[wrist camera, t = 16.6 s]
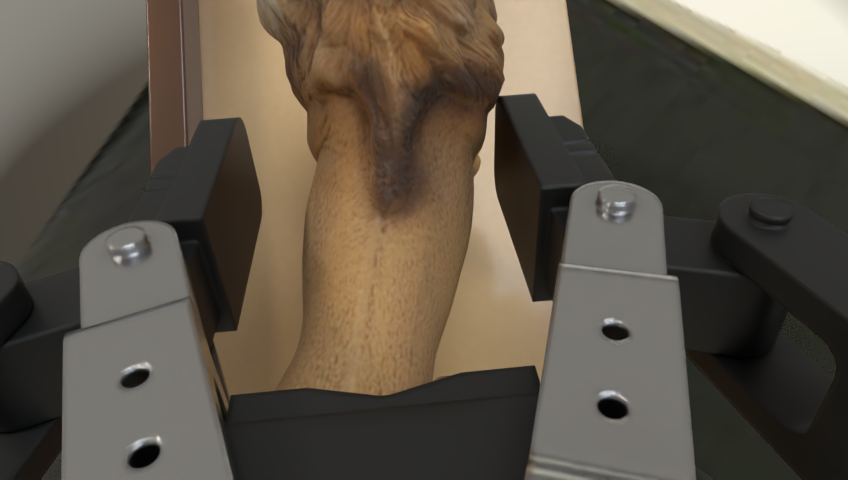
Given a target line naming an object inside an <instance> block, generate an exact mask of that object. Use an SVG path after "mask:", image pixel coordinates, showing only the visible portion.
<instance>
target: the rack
mask: <svg viewBox="0 0 848 480" xmlns="http://www.w3.org/2000/svg"><path fill="white" fill-rule="evenodd" d="M494 3H495V7H496V12H497V22H496V23H497V24H498V26H499V27H500V28H501V29H502V31H503V33H504V37H505V38H504V43H503V45H502V49H503V52H504V68H503V73H504V77H505V81H504V83H503V85H502V88H501V91H500V94H499V96H505V95H517V94H530V93H535V94H536V95H537V97H538V98H539V100H540V102H541V104H542V105H543V107H544V109H545V110H546V112H547V114H548V116H560V115H563V116H565V117H567V118H568V119H570V120H572V121H573V122H575V123H577V124H578V125H580V126H581V127H582V128H583V121H582V114H581V107H580V99H579V92H578V85H577V78H576V70H575V63H574V56H573V49H572V41H571V34H570V27H569V20H568V12H567V5H566V0H494ZM146 18H147V52H148V85H149V118H150V152H151V174H152V172H153V170H154V168H155V167H156V165H157V163H158V161H159V160H161V159H162V158H163V157H165V156H166V155H167V154H168V153H170V152H171V151H172V150H173V149H175V148H176V147H187V146H189V144H190V142H191V139H192V137H193V135H194V133H195V131H196V129H197V127H198V124H199V122H200V121H201V120H210V119H223V118H235V117H240V118H241V119H242V120H243V122H244V124H245V127H246V131H247V135H248V139H249V144H250V148H251V152H252V157H253V161H254V165H255V169H256V174H257V178H258V182H259V186H260V192H261V199H262V219H261V223H260V228H259V233H258V237H257V242H256V246H255V251H254V255H253V260H252V265H251V269H250V274H249V278H248V283H247V288H246V292H245V297H244V301H243V306H242V310H241V315H240V320H239V324H238V329H237V331H229V332H218V333H215V334H214V338H213V341H214V344H215V347H216V350H217V353H218V356H219V359H220V362H221V366H222V370H223V373H224V377H225V381H226V384H227V388H228V392H229V396H231V395H237V394H247V393H257V392H267V391H274V390H275V389H276V387H277V385H278V384H279V382H280V380H281V378H282V377H283V375H284V373H285V372H286V370H287V368H288V367H289V365H290V363H291V361H292V359H293V357H294V354H295V352H296V350H297V347H298V343H299V340H300V336H301V330H302V323H303V293H302V253H303V239H304V224H305V215H306V209H307V204H308V198H309V194H310V190H311V186H312V182H313V178H314V174H315V170H316V166H317V162H316V160H315V159H314V157H313V155H312V153H311V151H310V149H309V146H308V143H307V112H306V110H305V109H304V108H303V107H302V105H301V104H300V103H299V101H298V100H297V98H296V97H295V96H294V94H293V92H292V89H291V85H290V83H289V80H288V78H287V76H286V70H285V59H284V54H283V48H282V46H281V44H280V42H278V41H277V40H276V39H275V38H273V37H272V36H271V35H269V34H268V32H267V31H266V30H265V29H264V28H263V26H262V25H261V23H260V20H259V16H258V12H257V3H256V0H146ZM495 105H496V104H495ZM583 130H584V128H583ZM494 141H495V106H494V108H493V109H492V110H491V111H490V112H489V113H488V117H487V129H486V136H485V140H484V143H483V146H482V149H481V150H480V152H479V153H478V155H479V157H480V159H481V163H480V168H479V171H478V172H477V174H476V175H475V176H474V207H473V219H472V228H471V233H470V239H469V244H468V249H467V253H466V257H465V260H464V264H463V267H462V271H461V274H460V278H459V282H458V286H457V289H456V293H455V297H454V301H453V304H452V307H451V311H450V314H449V317H448V320H447V323H446V326H445V328H444V331H443V334H442V337H441V340H440V343H439V347H438V350H437V353H436V357H435V363H434V373H433V381H434V380H435V379H436V378H437V377H440V376H451V375H455V374H458V373H461V372H471V371H481V370H491V369H501V368H511V367H522V366H532V365H535V367H536V371H537V374H538V377H539V381H540V383H541V376H542V370H543V363H544V357H545V350H546V343H547V337H548V330H549V324H550V317H551V311H552V304H553V302H552V300H550V301H539V302H533V301H532V298H531V295H530V292H529V289H528V286H527V284H526V281H525V278H524V275H523V272H522V269H521V266H520V263H519V260H518V257H517V254H516V251H515V248H514V245H513V242H512V239H511V236H510V233H509V230H508V227H507V224H506V222H505V219H504V216H503V213H502V210H501V207H500V204H499V201H498V198H497V194H496V188H495V180H494Z"/></svg>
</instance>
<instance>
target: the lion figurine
mask: <svg viewBox="0 0 848 480" xmlns="http://www.w3.org/2000/svg"><path fill="white" fill-rule="evenodd" d="M256 3H257V12H258V16H259V20H260V23H261V25H262V26H263V28H264V29H265V30H266V31H267V32H268V34H269V35H271V36H272V37H273V38H275V39H276V40H277V41H278V42H280V44H281V46H282V48H283V54H284V59H285V70H286V76H287V78H288V80H289V83H290V85H291V89H292V92H293V94H294V96H295V97H296V98H297V100H298V101H299V103H300V104H301V105H302V107H303V108H304V109H305V110H306V112H307V143H308V146H309V149H310V151H311V153H312V155H313V157H314V159H315V160H316V162H317V166H316V170H315V174H314V178H313V182H312V186H311V190H310V194H309V198H308V204H307V209H306V215H305V224H304V239H303V253H302V293H303V323H302V330H301V336H300V340H299V343H298V347H297V350H296V352H295V354H294V357H293V359H292V361H291V363H290V365H289V367H288V368H287V370H286V372H285V373H284V375H283V377H282V378H281V380H280V382H279V384H278V385H277V387H276V389H275V390H274V391H277V390H288V389H298V388H314V389H323V390H333V391H342V392H351V393H360V394H369V395H380V396H383V395H390V394H394V393H397V392H400V391H404V390H407V389H410V388H413V387H416V386H419V385H423V384H426V383H429V382H432V381H433V373H434V363H435V357H436V353H437V350H438V347H439V343H440V340H441V337H442V334H443V331H444V328H445V326H446V323H447V320H448V317H449V314H450V311H451V307H452V304H453V301H454V297H455V293H456V289H457V286H458V282H459V278H460V274H461V271H462V267H463V264H464V260H465V257H466V253H467V249H468V244H469V239H470V233H471V228H472V219H473V207H474V176H475V175H476V174H477V172H478V171H479V168H480V163H481V159H480V157H479V155H478V153H479V152H480V150H481V149H482V146H483V143H484V140H485V136H486V129H487V117H488V113H489V112H490V111H491V110H492V109H493V108H494V106H495V104H496V102H497V99H498V96H499V94H500V91H501V88H502V85H503V83H504V81H505V77H504V73H503V68H504V52H503V49H502V45H503V43H504V38H505V37H504V33H503V31H502V29H501V28H500V27H499V26H498V24H497V23H496V22H497V12H496V7H495V3H494V0H256ZM445 377H448V376H440V377H437V378H436V379H435V380H439V379H442V378H445ZM435 380H434V381H435Z"/></svg>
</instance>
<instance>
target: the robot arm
mask: <svg viewBox="0 0 848 480" xmlns="http://www.w3.org/2000/svg"><path fill="white" fill-rule="evenodd" d="M150 178H151V179H149V180H148V182H147V184H146V186H145V187H144V192H142V193H141V195H140V197H139V199H138V201H137V203H136V205H135V206H134V208H133V210H132V212H131V214H130V216H129V218H128V220H127V222H126V223H125V224H122V225H119V226H116V227H113V228H111V229H109V230H107V231H105V232H103V233H101V234H99V235H98V236H96V237H95V238H93V239H92V240H91V241H90V242H89V243H88V244H87V245H86V246H85V247H84V248H83V250H82V252H81V254H80V258H79V267H78V268H76V269H73V270H70V271H67V272H64V273H61V274H57V275H53V276H50V277H46V278H42V279H39V280H35V281H32V282H28V283H24V282H23V280H22V278H21V276H20V275H19V273H18V271H17V269H16V268H15V267H14V266H13V265H11V264H9V263H6V262H2V261H0V480H41V478H42V477H43V475H44V474H45V473H46V471H47V470H48V468H49V467H50V466H51V464H52V463H53V461H54V460H55V459H56V457H57V456H58V454H59V453H60V452H61V450H62V480H714V479H713V478H712V477H710V476H709V475H707V474H706V473H704V472H703V471H702V470H700V469H699V468H697V467H696V466H695V461H694V449H693V438H692V426H691V415H690V403H689V392H688V380H687V368H686V357H685V353H686V355H687V357H688V358H689V359H690V360H691V361H692V363H693V364H694V365H695V366H696V367H697V368H698V369H699V370H700V371H701V372H702V373H703V374H704V375H705V376H706V377H707V379H708V380H709V381H710V382H711V383H712V384H713V385H714V386H715V387H716V388H717V389H718V390H719V391H720V392H721V393H722V395H723V396H724V397H725V398H726V399H727V400H728V401H729V402H730V403H731V404H732V405H733V406H734V407H735V408H736V410H737V411H738V412H739V413H740V414H741V415H742V416H743V417H744V418H745V419H746V420H747V421H748V422H749V423H750V424H751V426H752V427H753V428H754V429H755V430H756V431H757V432H758V433H759V434H760V435H761V436H762V437H763V438H764V439H765V440H766V442H767V443H768V444H769V445H770V446H771V447H772V448H773V449H774V450H775V451H776V452H777V453H778V454H779V455H780V456H781V458H782V459H783V460H784V461H785V462H786V463H787V464H788V465H789V466H790V467H791V468H792V469H793V470H794V471H795V473H796V474H797V475H798V476H799V477H800V478H801V479H802V480H848V233H846V232H844V231H843V230H841V229H840V228H838V227H837V226H835V225H833V224H832V223H830V222H829V221H827V220H826V219H824V218H823V217H821V216H819V215H818V214H816V213H815V212H813V211H812V210H810V209H808V208H807V207H805V206H803V205H802V204H800V203H797V202H795V201H793V200H790V199H787V198H785V197H781V196H777V195H772V194H766V193H741V194H735V195H732V196H730V197H728V198H726V199H724V200H723V201H722V202H721V203H720V205H719V207H718V211H717V215H716V218H715V221H712V220H702V219H692V218H682V217H674V216H668V215H664V214H663V207H662V203H661V201H660V200H659V199H658V197H657V196H656V195H654V194H653V193H652V192H650V191H649V190H647V189H645V188H643V187H640V186H638V185H635V184H632V183H627V182H621V181H617V180H616V179H615V177H614V176H613V174H612V173H611V171H610V170H609V168H608V166H607V165H606V163H605V162H604V160H603V159H602V157H601V156H600V154H599V153H597V150H596V148H595V147H594V145H593V144H592V142H590V139H589V137H588V136H587V134H586V133H585V131H584V130H583V128H582V127H581V126H580V125H578V124H577V123H575V122H573V121H572V120H570V119H568V118H567V117H565V116H563V115H560V116H548V114H547V112H546V110H545V109H544V107H543V105H542V104H541V102H540V100H539V98H538V97H537V95H536V94H535V93H530V94H517V95H505V96H498V99H497V102H496V105H495V141H494V180H495V188H496V194H497V198H498V201H499V204H500V207H501V210H502V213H503V216H504V219H505V222H506V224H507V227H508V230H509V233H510V236H511V239H512V242H513V245H514V248H515V251H516V254H517V257H518V260H519V263H520V266H521V269H522V272H523V275H524V278H525V281H526V284H527V286H528V289H529V292H530V295H531V298H532V301H533V302H539V301H550V300H552V302H553V304H552V311H551V317H550V324H549V330H548V337H547V343H546V350H545V357H544V363H543V370H542V376H541V383H540V381H539V377H538V374H537V371H536V367H535V365H532V366H522V367H511V368H501V369H491V370H481V371H471V372H461V373H458V374H455V375H451V376H448V377H445V378H442V379H439V380H435V381H432V382H429V383H426V384H423V385H419V386H416V387H413V388H410V389H407V390H404V391H400V392H397V393H394V394H390V395H383V396H380V395H369V394H360V393H351V392H342V391H333V390H323V389H314V388H298V389H288V390H277V391H267V392H257V393H247V394H237V395H231V396H229V392H228V388H227V384H226V381H225V377H224V373H223V370H222V366H221V362H220V359H219V356H218V353H217V350H216V347H215V344H214V341H213V338H214V334H215V333H218V332H229V331H237V329H238V324H239V320H240V315H241V310H242V306H243V301H244V297H245V292H246V288H247V283H248V278H249V274H250V269H251V265H252V260H253V255H254V251H255V246H256V242H257V237H258V233H259V228H260V223H261V219H262V199H261V192H260V186H259V182H258V178H257V174H256V169H255V165H254V161H253V157H252V152H251V148H250V144H249V139H248V135H247V131H246V127H245V124H244V122H243V120H242V119H241V118H240V117H235V118H223V119H210V120H201V121H200V122H199V124H198V127H197V129H196V131H195V133H194V135H193V137H192V139H191V142H190V144H189V146H187V147H176V148H175V149H173V150H172V151H171V152H170V153H168V154H167V155H166V156H165V157H163V158H162V159H161V160H159V161H158V163H157V165H156V167H155V168H154V170H153V172H152V174H151V176H150ZM787 312H790V313H791V314H792V315H793V316H795V317H796V318H797V319H798V320H799V321H801V322H802V323H803V324H804V325H806V326H807V327H808V328H809V329H810V330H812V331H813V332H814V333H815V334H816V335H818V336H819V337H820V338H821V339H822V340H823V341H824V342H825V343H826V344H827V345H828V347H829V348H830V350H831V352H832V354H833V356H834V358H835V362H836V375H835V377H834V376H833V375H831V374H830V373H829V372H828V371H827V370H826V369H824V368H823V367H822V366H821V365H820V364H819V363H818V362H816V361H815V360H814V359H813V358H812V357H811V356H809V355H808V354H807V353H806V352H805V351H804V350H802V349H801V348H800V347H799V346H798V345H797V344H796V343H794V342H793V341H792V340H791V339H790V338H789V337H787V336H786V335H785V334H784V333H783V332H782V331H780V330H781V327H782V325H783V322H784V320H785V317H786V315H787Z"/></svg>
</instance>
